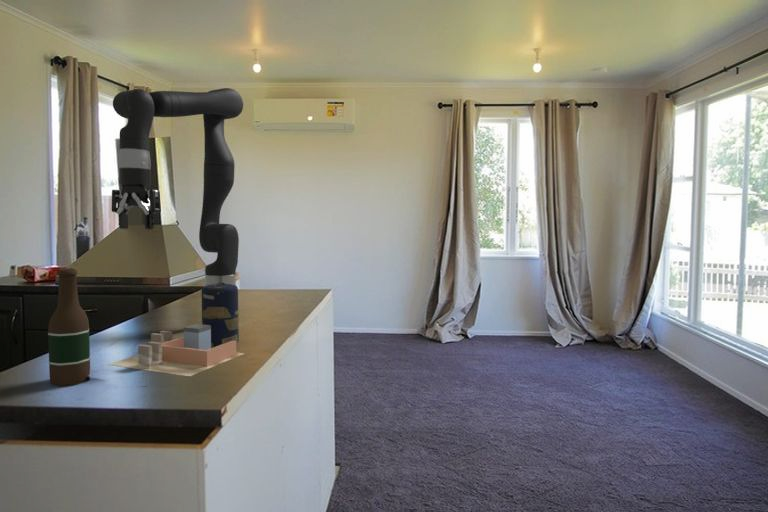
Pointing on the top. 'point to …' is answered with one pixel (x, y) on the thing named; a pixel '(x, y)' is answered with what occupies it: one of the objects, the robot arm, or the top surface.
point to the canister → (221, 312)
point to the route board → (152, 358)
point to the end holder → (196, 353)
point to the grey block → (197, 336)
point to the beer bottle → (68, 335)
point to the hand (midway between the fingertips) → (136, 229)
